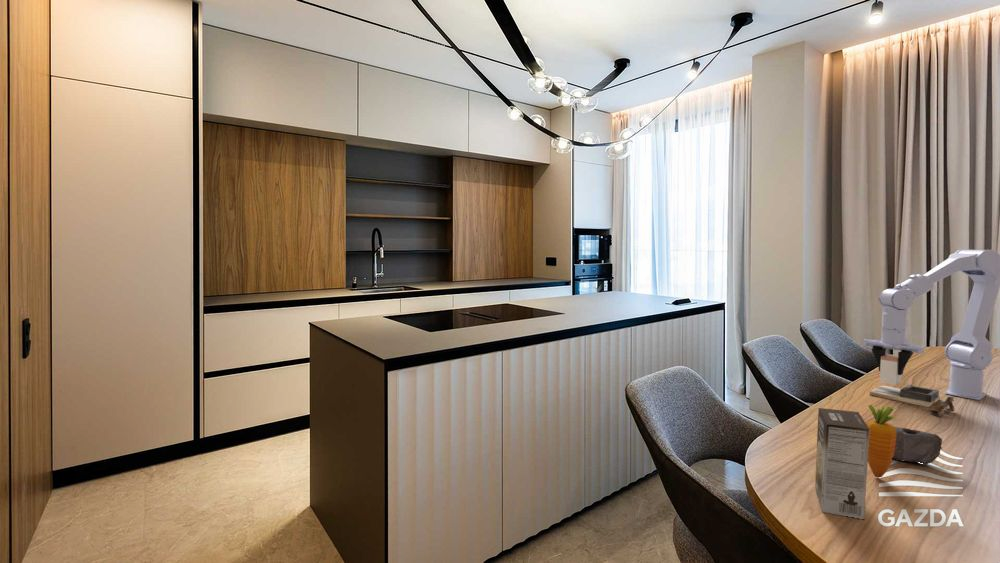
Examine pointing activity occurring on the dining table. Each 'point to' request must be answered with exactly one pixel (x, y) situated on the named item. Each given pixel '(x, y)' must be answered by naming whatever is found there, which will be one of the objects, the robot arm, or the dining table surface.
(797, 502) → the dining table surface
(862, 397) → the dining table surface
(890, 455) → the carrot
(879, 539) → the dining table surface
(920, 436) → the perforated stone tool
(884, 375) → the plug
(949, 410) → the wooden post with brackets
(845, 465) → the coffee box
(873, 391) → the board
